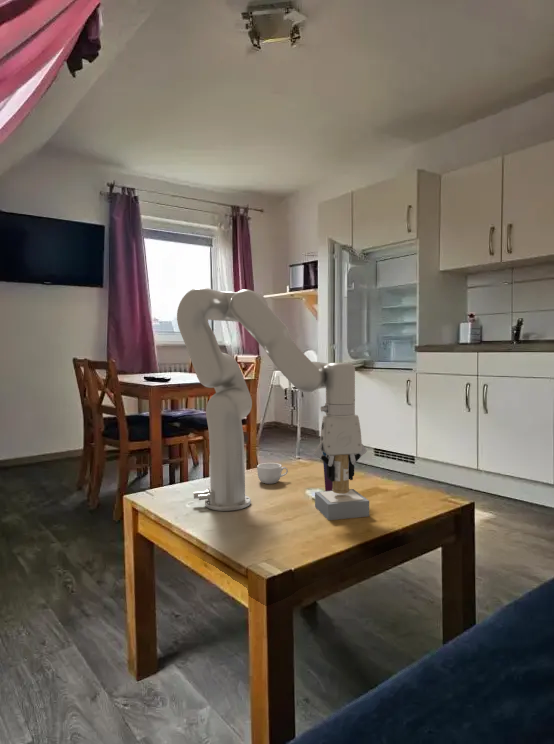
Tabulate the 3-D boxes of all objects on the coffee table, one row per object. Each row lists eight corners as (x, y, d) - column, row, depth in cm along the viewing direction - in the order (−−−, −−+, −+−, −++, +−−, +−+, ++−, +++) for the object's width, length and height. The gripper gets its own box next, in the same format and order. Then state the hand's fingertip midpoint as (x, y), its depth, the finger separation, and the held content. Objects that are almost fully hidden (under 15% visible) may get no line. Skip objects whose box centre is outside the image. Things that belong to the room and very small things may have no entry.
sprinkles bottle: (351, 493, 133) (351, 441, 132) (335, 494, 132) (335, 442, 131) (345, 488, 137) (345, 438, 136) (329, 489, 136) (329, 439, 135)
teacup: (260, 486, 159) (260, 469, 159) (254, 480, 167) (254, 463, 167) (291, 483, 162) (291, 466, 162) (284, 477, 170) (284, 461, 169)
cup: (347, 498, 146) (347, 446, 145) (323, 498, 146) (322, 446, 145) (344, 491, 153) (344, 441, 152) (321, 491, 153) (321, 441, 152)
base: (328, 520, 128) (328, 503, 128) (315, 506, 139) (314, 491, 139) (369, 516, 131) (369, 500, 131) (353, 503, 142) (353, 488, 141)
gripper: (313, 413, 128) (313, 485, 129) (376, 410, 132) (376, 481, 133) (305, 409, 135) (305, 478, 136) (364, 407, 139) (364, 473, 140)
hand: (340, 478), depth 134 cm, fingers closed on sprinkles bottle, 4 cm apart
